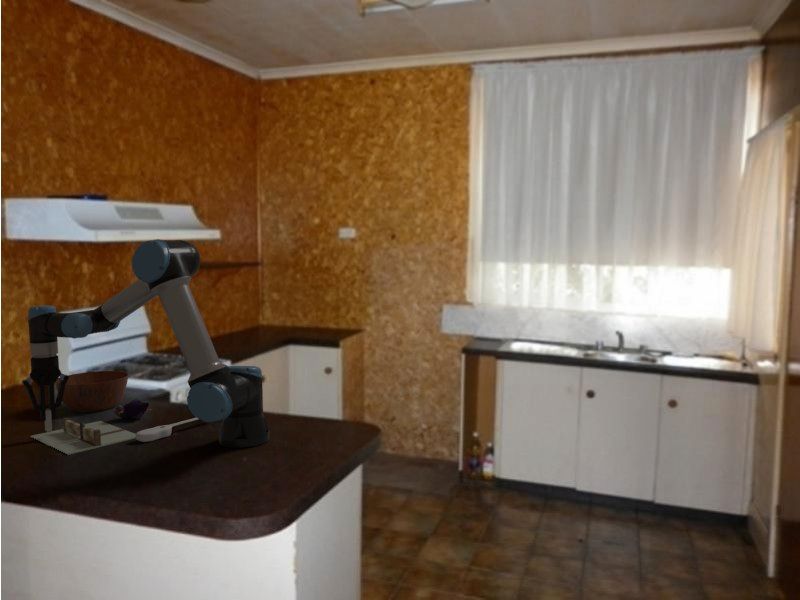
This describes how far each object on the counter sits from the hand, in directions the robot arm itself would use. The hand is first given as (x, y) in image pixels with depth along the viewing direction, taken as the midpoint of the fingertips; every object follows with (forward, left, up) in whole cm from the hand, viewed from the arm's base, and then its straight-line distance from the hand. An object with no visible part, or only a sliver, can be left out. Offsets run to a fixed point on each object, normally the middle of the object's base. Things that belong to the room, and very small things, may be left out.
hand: (48, 430), depth 196 cm
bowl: (+30, -27, -3) cm, 40 cm away
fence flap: (-3, -6, -2) cm, 7 cm away
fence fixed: (-15, -6, -3) cm, 16 cm away
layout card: (-7, -8, -3) cm, 11 cm away
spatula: (-25, -29, -3) cm, 39 cm away
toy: (+1, -29, -3) cm, 29 cm away
